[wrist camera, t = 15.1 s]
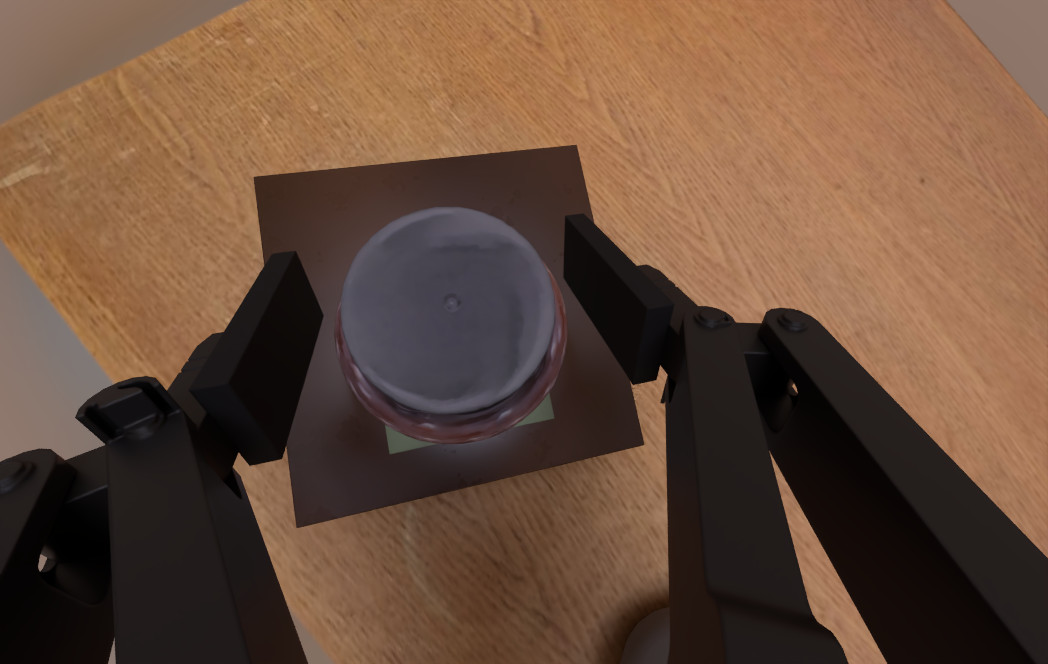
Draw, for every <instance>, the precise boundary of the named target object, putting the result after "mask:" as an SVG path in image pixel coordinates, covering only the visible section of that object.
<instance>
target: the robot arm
mask: <svg viewBox="0 0 1048 664" xmlns="http://www.w3.org/2000/svg"><path fill="white" fill-rule="evenodd" d="M563 278H564V280H565V281H566V283H567V284H568V286H569V288H570V289H571V291H572V292H573V294H574V295H575V297H576V298H577V300H578V301H579V303H580V304H581V306H582V307H583V309H584V311H585V312H586V314H587V315H588V317H589V318H590V320H591V321H592V323H593V324H594V326H595V327H596V329H597V331H598V332H599V334H600V335H601V337H602V338H603V340H604V341H605V343H606V344H607V346H608V347H609V349H610V350H611V352H612V354H613V355H614V357H615V358H616V360H617V361H618V363H619V364H620V366H621V367H622V369H623V370H624V372H625V374H626V375H627V377H628V378H629V380H630V381H631V383H632V384H633V385H635V384H640V383H645V382H649V381H654V380H657V376H658V371H659V367H660V365H661V367H662V368H663V369H664V371H665V372H666V373H667V374H668V376H667V380H666V384H665V387H664V391H663V395H662V399H661V403H665V407H666V459H667V512H668V565H669V617H670V646H669V655H668V661H667V664H848V661H847V659H846V656H845V653H844V651H843V648H842V646H841V645H840V643H839V642H838V640H837V639H836V637H835V636H834V634H833V633H832V632H831V631H830V630H828V629H827V628H825V627H824V626H823V625H821V624H820V623H819V622H817V620H816V619H815V617H814V616H813V614H812V611H811V608H810V606H809V603H808V599H807V595H806V591H805V587H804V584H803V580H802V576H801V572H800V568H799V564H798V560H797V557H796V553H795V549H794V545H793V541H792V537H791V533H790V530H789V526H788V522H787V518H786V514H785V510H784V507H783V503H782V499H781V495H780V491H779V487H778V483H777V480H776V476H775V472H774V468H773V464H772V460H771V456H770V453H771V455H772V456H773V458H774V460H775V462H776V464H777V465H778V467H779V469H780V471H781V473H782V474H783V476H784V478H785V480H786V482H787V483H788V485H789V487H790V489H791V491H792V492H793V494H794V496H795V498H796V500H797V501H798V503H799V505H800V507H801V509H802V510H803V512H804V514H805V516H806V518H807V519H808V521H809V523H810V525H811V527H812V528H813V530H814V532H815V534H816V536H817V538H818V539H819V541H820V543H821V545H822V547H823V548H824V550H825V552H826V554H827V556H828V557H829V559H830V561H831V563H832V565H833V566H834V568H835V570H836V572H837V574H838V575H839V577H840V579H841V581H842V583H843V584H844V586H845V588H846V590H847V592H848V593H849V595H850V597H851V599H852V601H853V602H854V604H855V606H856V608H857V610H858V611H859V613H860V615H861V617H862V619H863V620H864V622H865V624H866V626H867V628H868V630H869V631H870V633H871V635H872V637H873V639H874V640H875V642H876V644H877V646H878V648H879V649H880V651H881V653H882V655H883V657H884V658H885V660H886V662H887V664H1048V558H1047V557H1046V556H1045V555H1044V554H1043V553H1042V552H1041V551H1040V550H1039V549H1038V548H1037V547H1036V546H1035V545H1034V544H1033V543H1032V542H1031V541H1030V540H1029V538H1028V537H1027V536H1026V535H1025V534H1024V533H1023V532H1022V531H1021V530H1020V529H1019V528H1018V527H1017V526H1016V525H1015V524H1014V523H1013V522H1012V521H1011V520H1010V519H1009V518H1008V517H1007V516H1006V515H1005V514H1004V513H1003V512H1002V511H1001V510H1000V509H999V508H998V506H997V505H996V504H995V503H994V502H993V501H992V500H991V499H990V498H989V497H988V496H987V495H986V494H985V493H984V492H983V491H982V490H981V489H980V488H979V487H978V486H977V485H976V484H975V483H974V482H973V481H972V480H971V479H970V478H969V477H968V475H967V474H966V473H965V472H964V471H963V470H962V469H961V468H960V467H959V466H958V465H957V464H956V463H955V462H954V461H953V460H952V459H951V458H950V457H949V456H948V455H947V454H946V453H945V452H944V451H943V450H942V449H941V448H940V447H939V446H938V444H937V443H936V442H935V441H934V440H933V439H932V438H931V437H930V436H929V435H928V434H927V433H926V432H925V431H924V430H923V429H922V428H921V427H920V426H919V425H918V424H917V423H916V422H915V421H914V420H913V419H912V418H911V417H910V416H909V415H908V414H907V412H906V411H905V410H904V409H903V408H902V407H901V406H900V405H899V404H898V403H897V402H896V401H895V400H894V399H893V398H892V397H891V396H890V395H889V394H888V393H887V392H886V391H885V390H884V389H883V388H882V387H881V386H880V385H879V384H878V383H877V381H876V380H875V379H874V378H873V377H872V376H871V375H870V374H869V373H868V372H867V371H866V370H865V369H864V368H863V367H862V366H861V365H860V364H859V363H858V362H857V361H856V360H855V359H854V358H853V357H852V356H851V355H850V354H849V353H848V352H847V350H846V349H845V348H844V347H843V346H842V345H841V344H840V343H839V342H838V341H837V340H836V339H835V338H834V337H833V336H832V335H831V334H830V333H829V332H828V331H827V330H826V329H825V328H824V327H823V326H822V325H821V324H820V323H819V322H818V321H817V320H816V319H814V318H813V317H812V316H810V315H808V314H805V313H803V312H802V311H799V310H795V309H787V308H776V309H771V310H769V311H767V312H766V314H765V316H764V319H763V321H762V323H736V322H735V321H734V319H733V317H731V316H730V315H729V314H727V313H726V312H724V311H722V310H719V309H717V308H713V307H708V306H697V305H696V304H695V303H694V302H693V301H692V300H691V299H690V298H689V297H688V296H687V295H685V294H684V293H683V292H682V291H681V290H680V289H679V288H678V287H675V284H674V283H672V282H671V281H670V280H668V278H667V277H666V276H665V275H664V274H663V273H662V272H661V271H659V270H657V269H655V268H653V267H651V266H649V265H647V264H646V265H640V266H636V265H635V264H634V263H633V262H632V261H631V260H630V259H629V258H628V257H627V256H626V255H625V254H624V253H623V252H622V251H621V250H620V249H619V248H618V247H617V246H616V245H615V244H614V243H613V242H612V241H611V240H610V239H609V238H608V237H607V236H606V235H605V234H604V233H603V232H602V231H601V230H600V229H599V228H598V227H597V226H596V225H595V224H594V223H593V222H592V221H591V220H590V219H589V218H588V217H587V216H586V215H585V214H584V213H581V214H574V215H566V216H565V234H564V269H563ZM323 317H324V314H323V312H322V310H321V307H320V305H319V303H318V301H317V298H316V296H315V294H314V291H313V289H312V287H311V284H310V282H309V280H308V277H307V275H306V273H305V270H304V268H303V266H302V263H301V261H300V259H299V257H298V254H297V252H296V251H289V252H281V253H273V254H272V255H271V256H270V258H269V259H268V261H267V263H266V264H265V266H264V268H263V269H262V271H261V272H260V274H259V276H258V277H257V279H256V281H255V282H254V284H253V285H252V287H251V289H250V290H249V292H248V294H247V295H246V297H245V299H244V300H243V302H242V303H241V305H240V307H239V308H238V310H237V312H236V313H235V315H234V316H233V318H232V320H231V321H230V323H229V325H228V326H227V328H226V329H225V331H224V332H221V333H215V334H212V335H211V336H209V337H208V338H207V339H206V340H204V341H203V342H202V343H201V344H199V345H198V346H197V347H196V348H195V350H194V351H193V353H192V354H191V356H190V357H189V359H188V360H189V362H186V363H185V365H184V366H183V368H182V369H181V371H182V372H181V373H179V374H178V375H177V377H176V378H175V380H174V381H173V383H172V384H171V386H170V387H169V389H168V390H167V391H166V389H165V388H164V387H163V386H162V385H161V384H160V382H159V381H158V380H157V379H156V378H153V377H148V376H144V377H135V378H131V379H128V380H124V381H121V382H118V383H116V384H114V385H112V386H110V387H107V388H105V389H103V390H101V391H100V392H99V393H97V394H95V395H94V396H92V397H91V398H90V399H88V400H87V401H86V402H85V403H84V404H83V405H82V406H81V407H80V408H79V410H78V412H77V415H76V417H75V418H76V419H77V420H78V421H80V422H81V423H82V424H83V425H84V426H85V427H86V428H88V429H89V430H90V431H91V432H92V433H94V435H95V436H97V437H98V438H99V439H100V440H101V441H102V442H103V443H105V446H102V447H99V448H97V449H94V450H91V451H89V452H86V453H83V454H81V455H78V456H75V457H73V458H70V459H68V460H64V459H63V458H62V457H60V456H59V455H57V454H56V453H55V452H54V451H52V450H51V449H36V450H32V451H27V452H23V453H21V454H18V455H16V456H13V457H11V458H8V459H5V460H3V461H1V462H0V664H108V661H109V657H110V652H111V648H112V645H113V641H114V637H115V655H116V664H308V662H307V659H306V656H305V653H304V651H303V648H302V645H301V642H300V640H299V637H298V634H297V631H296V629H295V626H294V623H293V620H292V617H291V615H290V612H289V609H288V606H287V604H286V601H285V598H284V595H283V593H282V590H281V587H280V584H279V582H278V579H277V576H276V573H275V570H274V568H273V565H272V562H271V559H270V557H269V554H268V551H267V548H266V546H265V543H264V540H263V537H262V535H261V532H260V529H259V526H258V523H257V521H256V518H255V515H254V512H253V510H252V507H251V504H250V501H249V499H248V496H247V493H246V490H245V488H244V485H243V482H242V479H241V476H240V475H239V474H238V473H237V472H236V471H235V469H234V468H233V465H234V462H235V460H236V457H237V455H238V452H239V453H240V454H241V456H242V457H243V458H244V459H245V461H246V462H247V463H248V464H249V466H251V465H256V464H261V463H266V462H270V461H275V460H280V459H282V458H283V454H284V451H285V447H286V444H287V440H288V437H289V434H290V430H291V427H292V423H293V420H294V417H295V413H296V410H297V406H298V403H299V399H300V396H301V393H302V389H303V386H304V382H305V379H306V375H307V372H308V369H309V365H310V362H311V358H312V355H313V351H314V348H315V345H316V341H317V338H318V334H319V331H320V328H321V324H322V321H323ZM793 384H795V386H796V388H797V391H798V393H797V392H796V391H795V390H794V388H793V387H792V386H793ZM769 451H770V453H769ZM40 554H42V555H43V556H45V557H47V560H46V563H45V565H44V567H43V569H42V570H41V572H40V571H39V569H38V563H39V558H40Z"/></svg>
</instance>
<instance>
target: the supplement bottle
mask: <svg viewBox="0 0 1048 664" xmlns="http://www.w3.org/2000/svg"><path fill="white" fill-rule="evenodd" d="M335 318H336V321H335V334H334V337H335V340H336V341H335V343H336V353H337V356H338V359H339V362H340V366H341V369H342V371H343V373H344V376H345V378H346V381H347V383H348V385H349V386H350V388H351V390H352V391H353V393H354V395H355V396H356V398H357V399H358V400H359V401H360V402H361V404H362V405H363V406H364V408H365V409H366V410H367V411H368V412H369V413H370V414H372V415H373V416H374V417H375V418H376V419H377V420H379V421H381V422H382V423H383V424H385V425H386V426H388V427H389V428H391V429H393V430H395V431H398V432H400V433H402V434H404V435H406V436H408V437H411V438H413V439H417V440H420V441H426V442H430V443H440V444H465V443H471V442H476V441H481V440H485V439H488V438H491V437H494V436H496V435H498V434H500V433H502V432H504V431H506V430H508V429H510V428H512V427H514V426H515V425H516V424H517V423H519V422H521V421H522V420H523V419H524V418H526V417H527V416H528V415H529V414H530V413H532V412H533V411H534V410H535V409H536V408H537V407H538V406H539V405H540V403H541V402H542V401H543V400H544V398H545V397H546V396H547V394H548V393H549V392H550V390H551V389H552V387H553V386H554V384H555V381H556V379H557V377H558V374H559V372H560V370H561V367H562V365H563V362H564V358H565V351H566V348H567V334H568V328H567V314H566V309H565V305H564V301H563V298H562V295H561V292H560V289H559V287H558V285H557V282H556V280H555V278H554V276H553V275H552V273H551V271H550V270H549V269H548V267H547V266H546V264H545V263H544V262H543V260H542V259H541V258H540V256H539V255H538V253H537V252H536V250H535V249H534V247H533V246H532V245H531V244H530V242H529V241H528V240H527V239H526V238H525V237H524V236H523V235H521V234H520V233H519V232H517V231H516V230H515V229H514V228H512V227H511V226H509V225H508V224H506V223H505V222H503V221H502V220H500V219H498V218H496V217H494V216H491V215H488V214H487V213H483V212H480V211H477V210H473V209H468V208H462V207H434V208H429V209H423V210H419V211H415V212H412V213H410V214H408V215H404V216H402V217H400V218H398V219H396V220H394V221H392V222H390V223H389V224H387V225H386V226H385V227H384V228H382V229H380V230H379V231H378V232H377V233H376V234H374V235H373V236H372V237H371V238H370V240H369V241H368V242H367V243H366V244H365V245H364V246H363V247H362V248H361V249H360V251H359V252H358V253H357V255H356V257H355V259H354V260H353V262H352V263H351V266H350V268H349V271H348V273H347V276H346V278H345V281H344V285H343V291H342V296H341V299H340V302H339V305H338V308H337V313H336V317H335Z"/></svg>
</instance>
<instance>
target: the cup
mask: <svg viewBox="0 0 1048 664" xmlns="http://www.w3.org/2000/svg"><path fill="white" fill-rule="evenodd" d="M669 646H670V617H669V607H666V608H663V609H659V610H655V611H653V612H651V613H650V614H649V615H647V616H646V617H645V618H643V619H642V620H641V621H640V622H638V623H637V625H636V626H635V628H634V629H633V631H632V633H631V634H630V636H629V637H628V639H627V640H626V644H625V648H624V651H623V655H622V658H621V663H620V664H667V661H668V655H669Z"/></svg>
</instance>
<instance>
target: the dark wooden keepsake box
mask: <svg viewBox="0 0 1048 664" xmlns="http://www.w3.org/2000/svg"><path fill="white" fill-rule="evenodd" d="M254 184H255V192H256V200H257V209H258V217H259V225H260V233H261V241H262V249H263V258H264V266H265V264H266V263H267V261H268V259H269V258H270V256H271V255H272V254H273V253H281V252H289V251H296V252H297V254H298V257H299V259H300V261H301V263H302V266H303V268H304V270H305V273H306V275H307V277H308V280H309V282H310V284H311V287H312V289H313V291H314V294H315V296H316V298H317V301H318V303H319V305H320V307H321V310H322V312H323V314H324V317H323V321H322V324H321V328H320V331H319V334H318V338H317V341H316V345H315V348H314V351H313V355H312V358H311V362H310V365H309V369H308V372H307V375H306V379H305V382H304V386H303V389H302V393H301V396H300V399H299V403H298V406H297V410H296V413H295V417H294V420H293V423H292V427H291V430H290V434H289V437H288V440H287V444H286V446H287V454H288V462H289V470H290V478H291V486H292V495H293V503H294V511H295V519H296V527H297V528H300V527H304V526H308V525H312V524H317V523H321V522H325V521H329V520H333V519H337V518H342V517H346V516H350V515H354V514H358V513H362V512H367V511H371V510H375V509H379V508H383V507H387V506H392V505H396V504H400V503H404V502H408V501H412V500H417V499H421V498H425V497H429V496H433V495H438V494H442V493H446V492H450V491H454V490H458V489H463V488H467V487H471V486H475V485H479V484H483V483H488V482H492V481H496V480H500V479H504V478H508V477H513V476H517V475H521V474H525V473H529V472H533V471H538V470H542V469H546V468H550V467H554V466H559V465H563V464H567V463H571V462H575V461H579V460H584V459H588V458H592V457H596V456H600V455H604V454H609V453H613V452H617V451H621V450H625V449H629V448H634V447H638V446H642V445H644V441H643V436H642V432H641V428H640V423H639V419H638V414H637V410H636V405H635V401H634V397H633V392H632V388H631V383H630V380H629V378H628V377H627V375H626V374H625V372H624V370H623V369H622V367H621V366H620V364H619V363H618V361H617V360H616V358H615V357H614V355H613V354H612V352H611V350H610V349H609V347H608V346H607V344H606V343H605V341H604V340H603V338H602V337H601V335H600V334H599V332H598V331H597V329H596V327H595V326H594V324H593V323H592V321H591V320H590V318H589V317H588V315H587V314H586V312H585V311H584V309H583V307H582V306H581V304H580V303H579V301H578V300H577V298H576V297H575V295H574V294H573V292H572V291H571V289H570V288H569V286H568V284H567V283H566V281H565V280H564V278H563V269H564V234H565V216H566V215H574V214H581V213H584V214H585V215H586V216H587V217H588V218H589V219H590V220H591V221H592V222H593V223H594V220H593V215H592V211H591V206H590V202H589V198H588V193H587V189H586V184H585V180H584V175H583V171H582V167H581V162H580V158H579V153H578V149H577V145H571V146H561V147H551V148H540V149H530V150H520V151H510V152H500V153H490V154H480V155H470V156H460V157H450V158H439V159H429V160H419V161H409V162H399V163H389V164H379V165H369V166H359V167H349V168H338V169H328V170H318V171H308V172H298V173H288V174H278V175H268V176H258V177H254ZM434 207H462V208H468V209H473V210H477V211H480V212H483V213H487V214H488V215H491V216H494V217H496V218H498V219H500V220H502V221H503V222H505V223H506V224H508V225H509V226H511V227H512V228H514V229H515V230H516V231H517V232H519V233H520V234H521V235H523V236H524V237H525V238H526V239H527V240H528V241H529V242H530V244H531V245H532V246H533V247H534V249H535V250H536V252H537V253H538V255H539V256H540V258H541V259H542V260H543V262H544V263H545V264H546V266H547V267H548V269H549V270H550V271H551V273H552V275H553V276H554V278H555V280H556V282H557V285H558V287H559V289H560V292H561V295H562V298H563V301H564V305H565V309H566V314H567V328H568V334H567V348H566V351H565V358H564V362H563V365H562V367H561V370H560V372H559V374H558V377H557V379H556V381H555V384H554V386H553V387H552V389H551V390H550V392H549V393H548V394H547V396H546V397H545V398H544V400H543V401H542V402H541V403H540V405H539V406H538V407H537V408H536V409H535V410H534V411H533V412H532V413H530V414H529V415H528V416H527V417H526V418H524V419H523V420H522V421H521V422H519V423H517V424H516V425H515V426H514V427H512V428H510V429H508V430H506V431H504V432H502V433H500V434H498V435H496V436H494V437H491V438H488V439H485V440H481V441H476V442H471V443H465V444H440V443H430V442H426V441H420V440H417V439H413V438H411V437H408V436H406V435H404V434H402V433H400V432H398V431H395V430H393V429H391V428H389V427H388V426H386V425H385V424H383V423H382V422H381V421H379V420H377V419H376V418H375V417H374V416H373V415H372V414H370V413H369V412H368V411H367V410H366V409H365V408H364V406H363V405H362V404H361V402H360V401H359V400H358V399H357V398H356V396H355V395H354V393H353V391H352V390H351V388H350V386H349V385H348V383H347V381H346V378H345V376H344V373H343V371H342V369H341V366H340V362H339V359H338V356H337V353H336V343H335V341H336V340H335V337H334V334H335V321H336V318H335V317H336V313H337V308H338V305H339V302H340V299H341V296H342V291H343V285H344V281H345V278H346V276H347V273H348V271H349V268H350V266H351V263H352V262H353V260H354V259H355V257H356V255H357V253H358V252H359V251H360V249H361V248H362V247H363V246H364V245H365V244H366V243H367V242H368V241H369V240H370V238H371V237H372V236H373V235H374V234H376V233H377V232H378V231H379V230H380V229H382V228H384V227H385V226H386V225H387V224H389V223H390V222H392V221H394V220H396V219H398V218H400V217H402V216H404V215H408V214H410V213H412V212H415V211H419V210H423V209H429V208H434Z"/></svg>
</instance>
